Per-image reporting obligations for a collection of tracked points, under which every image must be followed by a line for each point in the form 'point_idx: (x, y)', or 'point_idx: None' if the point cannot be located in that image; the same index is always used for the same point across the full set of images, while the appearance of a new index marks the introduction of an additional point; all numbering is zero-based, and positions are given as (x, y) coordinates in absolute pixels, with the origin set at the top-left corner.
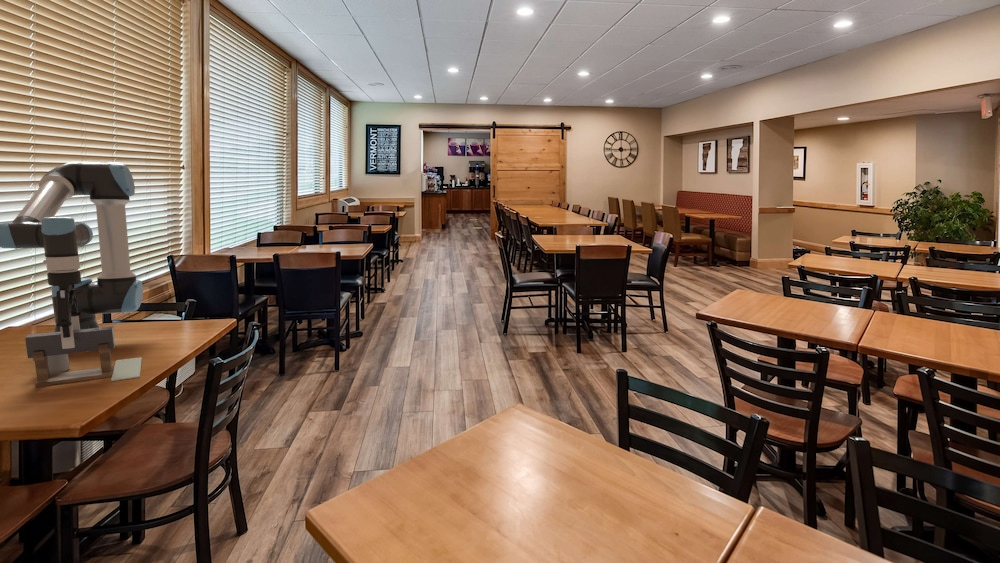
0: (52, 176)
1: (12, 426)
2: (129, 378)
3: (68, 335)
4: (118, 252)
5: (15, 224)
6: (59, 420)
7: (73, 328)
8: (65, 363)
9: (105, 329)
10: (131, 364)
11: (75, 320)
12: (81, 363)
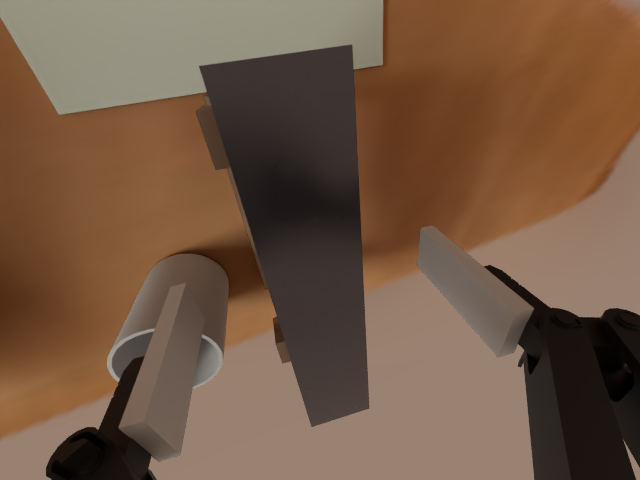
0: None
1: (575, 203)
2: None
3: (501, 275)
4: None
5: None
6: (618, 125)
7: (185, 348)
8: (194, 268)
9: (342, 113)
10: (153, 9)
11: (164, 393)
12: (97, 242)
